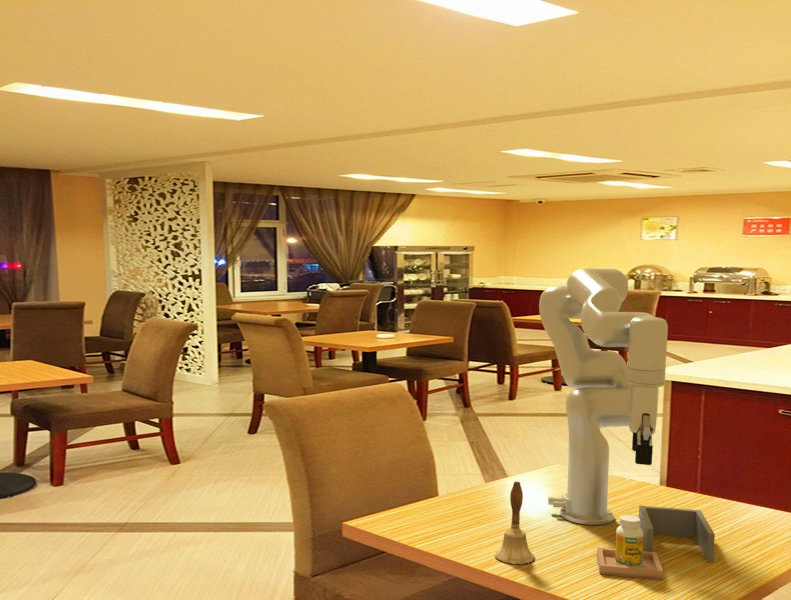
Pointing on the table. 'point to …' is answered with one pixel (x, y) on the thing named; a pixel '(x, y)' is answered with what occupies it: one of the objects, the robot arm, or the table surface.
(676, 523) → the bay
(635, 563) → the supplement bottle
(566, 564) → the table surface
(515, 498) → the hand bell
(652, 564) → the tray
